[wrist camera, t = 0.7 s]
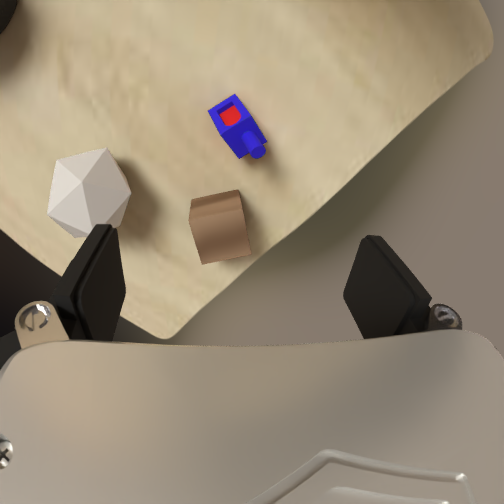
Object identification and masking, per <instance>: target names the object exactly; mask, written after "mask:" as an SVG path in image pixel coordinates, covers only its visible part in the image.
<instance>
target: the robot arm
mask: <svg viewBox="0 0 504 504" xmlns="http://www.w3.org/2000/svg"><path fill="white" fill-rule="evenodd" d="M125 294H126V287H125V281H124V275H123V269H122V262H121V256H120V249H119V241H118V233H117V229H116V228H113V227H112V225H111V224H96V225H95V226H94V228H93V229H92V231H91V232H90V234H89V235H88V237H87V238H86V240H85V241H84V243H83V245H82V246H81V248H80V249H79V251H78V252H77V254H76V256H75V257H74V259H73V260H72V261H71V262H70V264H69V266H68V267H67V269H66V271H65V272H64V274H63V276H62V278H61V279H60V281H59V283H58V285H57V286H56V288H55V290H54V292H53V293H52V295H51V297H50V299H49V301H48V302H45V301H35V302H32V303H30V304H28V305H26V306H24V307H23V308H22V309H21V310H20V311H19V313H18V314H17V316H16V319H15V328H16V330H15V331H13V332H11V333H9V334H7V335H5V336H3V337H2V338H0V504H504V359H503V358H502V356H501V355H500V353H499V352H498V351H497V349H496V348H495V347H494V346H493V345H492V344H491V343H490V341H489V340H487V339H486V338H485V337H483V336H481V335H479V334H476V333H474V332H469V331H465V330H462V320H461V318H460V316H459V314H458V313H457V312H456V311H455V310H453V309H452V308H451V307H449V306H447V305H444V304H434V305H433V306H432V307H431V308H430V307H429V303H430V301H431V299H432V297H431V296H430V295H429V293H428V292H427V291H426V289H425V288H424V287H423V286H422V284H421V283H420V282H419V281H418V279H417V278H416V277H415V276H414V274H413V273H412V272H411V271H410V270H409V268H408V267H407V266H406V265H405V264H404V262H403V261H402V260H401V259H400V258H399V257H398V255H397V254H396V253H395V252H394V251H393V249H392V248H391V247H390V246H389V245H388V244H387V243H386V241H385V240H384V239H383V238H382V237H381V236H374V235H367V236H366V237H365V238H363V239H362V240H361V242H360V245H359V248H358V251H357V254H356V257H355V260H354V263H353V266H352V269H351V272H350V275H349V278H348V281H347V283H346V286H345V289H344V294H343V297H344V300H345V302H346V304H347V306H348V308H349V310H350V312H351V314H352V316H353V318H354V320H355V322H356V324H357V325H358V328H359V330H360V332H361V334H362V336H363V338H364V339H360V340H350V341H337V342H324V343H311V344H310V343H309V344H291V345H266V346H182V345H159V344H158V345H157V344H141V343H127V342H112V340H113V336H114V333H115V329H116V326H117V322H118V319H119V315H120V312H121V308H122V305H123V302H124V298H125Z"/></svg>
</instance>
